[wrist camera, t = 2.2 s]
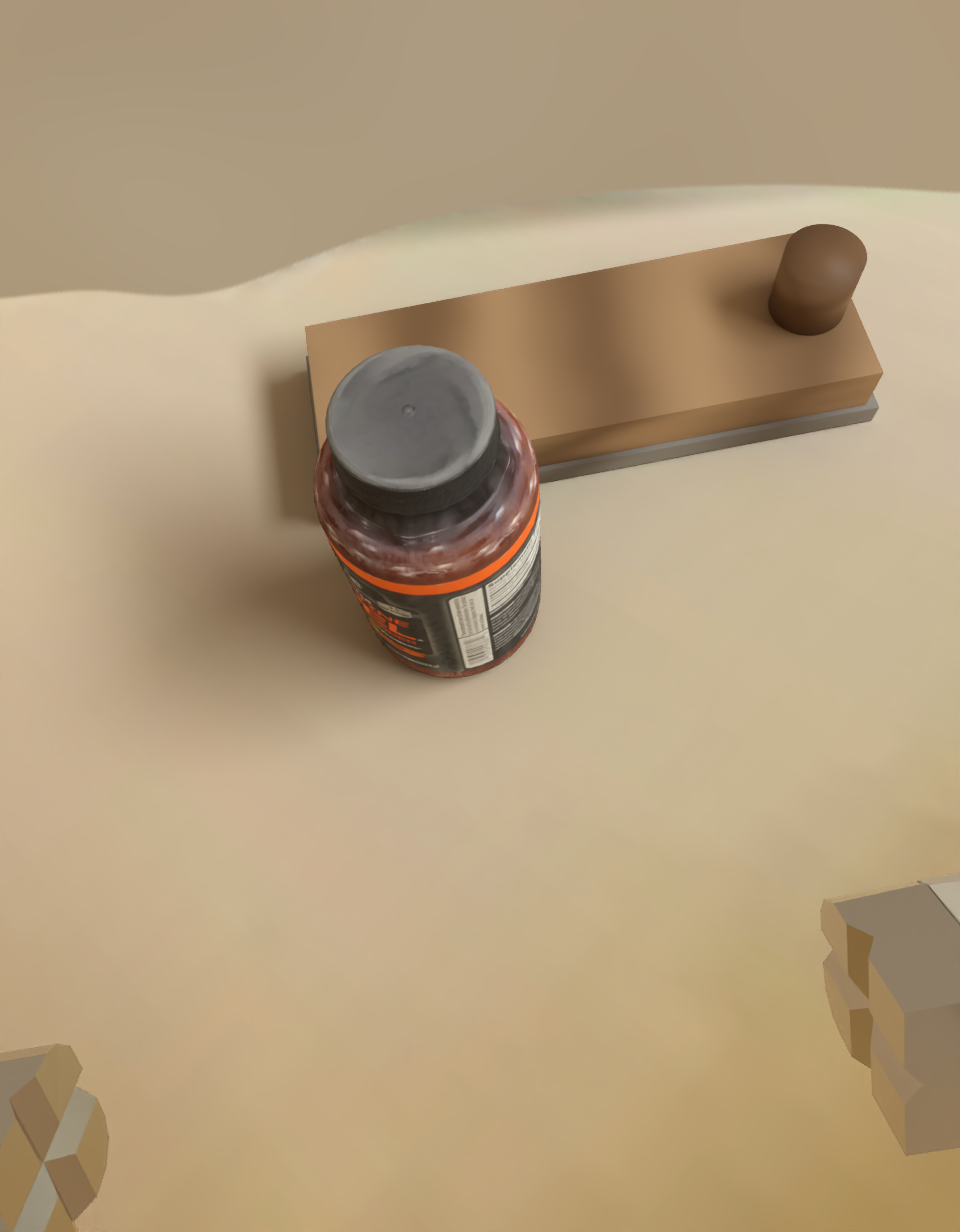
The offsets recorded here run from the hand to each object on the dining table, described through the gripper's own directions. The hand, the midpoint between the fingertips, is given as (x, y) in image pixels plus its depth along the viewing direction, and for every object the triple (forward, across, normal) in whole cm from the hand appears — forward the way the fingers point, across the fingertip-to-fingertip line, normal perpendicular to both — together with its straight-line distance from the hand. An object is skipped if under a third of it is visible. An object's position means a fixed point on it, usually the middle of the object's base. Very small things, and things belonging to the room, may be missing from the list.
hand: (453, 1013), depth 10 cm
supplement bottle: (+22, 0, +4) cm, 22 cm away
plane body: (+27, -6, -2) cm, 27 cm away
